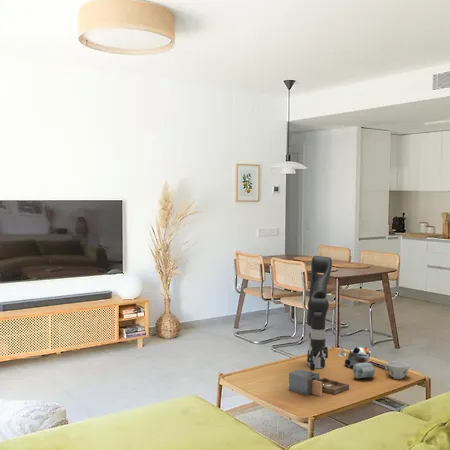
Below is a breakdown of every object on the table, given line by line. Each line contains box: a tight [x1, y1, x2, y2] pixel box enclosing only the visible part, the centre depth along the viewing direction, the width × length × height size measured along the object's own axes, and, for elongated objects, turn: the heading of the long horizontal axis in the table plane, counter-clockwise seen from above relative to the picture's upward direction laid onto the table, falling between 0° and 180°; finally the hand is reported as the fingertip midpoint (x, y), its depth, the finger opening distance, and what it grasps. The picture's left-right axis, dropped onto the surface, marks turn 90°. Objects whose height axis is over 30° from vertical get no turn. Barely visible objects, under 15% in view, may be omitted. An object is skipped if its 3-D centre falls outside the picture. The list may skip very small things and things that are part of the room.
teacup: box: [384, 360, 410, 380], centre depth 309 cm, size 15×12×8 cm
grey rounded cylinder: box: [352, 362, 376, 379], centre depth 306 cm, size 14×10×10 cm
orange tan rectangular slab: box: [311, 379, 323, 397], centre depth 281 cm, size 10×2×7 cm, turn 44°
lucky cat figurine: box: [344, 346, 372, 369], centre depth 327 cm, size 15×12×14 cm
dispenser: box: [288, 368, 320, 396], centre depth 285 cm, size 12×10×9 cm
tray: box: [319, 377, 350, 396], centre depth 289 cm, size 16×13×3 cm
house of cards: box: [337, 345, 348, 358], centre depth 347 cm, size 9×9×8 cm
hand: (317, 368), depth 278 cm, fingers open, 8 cm apart
